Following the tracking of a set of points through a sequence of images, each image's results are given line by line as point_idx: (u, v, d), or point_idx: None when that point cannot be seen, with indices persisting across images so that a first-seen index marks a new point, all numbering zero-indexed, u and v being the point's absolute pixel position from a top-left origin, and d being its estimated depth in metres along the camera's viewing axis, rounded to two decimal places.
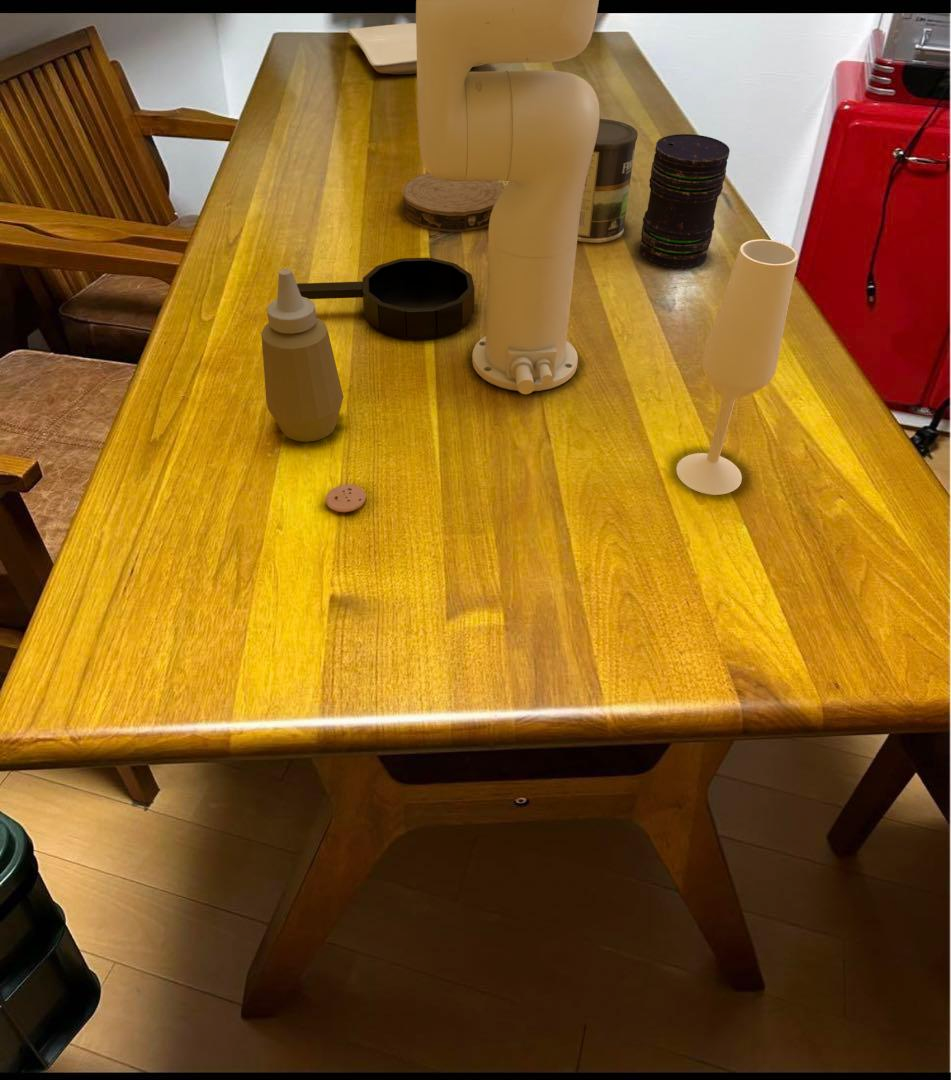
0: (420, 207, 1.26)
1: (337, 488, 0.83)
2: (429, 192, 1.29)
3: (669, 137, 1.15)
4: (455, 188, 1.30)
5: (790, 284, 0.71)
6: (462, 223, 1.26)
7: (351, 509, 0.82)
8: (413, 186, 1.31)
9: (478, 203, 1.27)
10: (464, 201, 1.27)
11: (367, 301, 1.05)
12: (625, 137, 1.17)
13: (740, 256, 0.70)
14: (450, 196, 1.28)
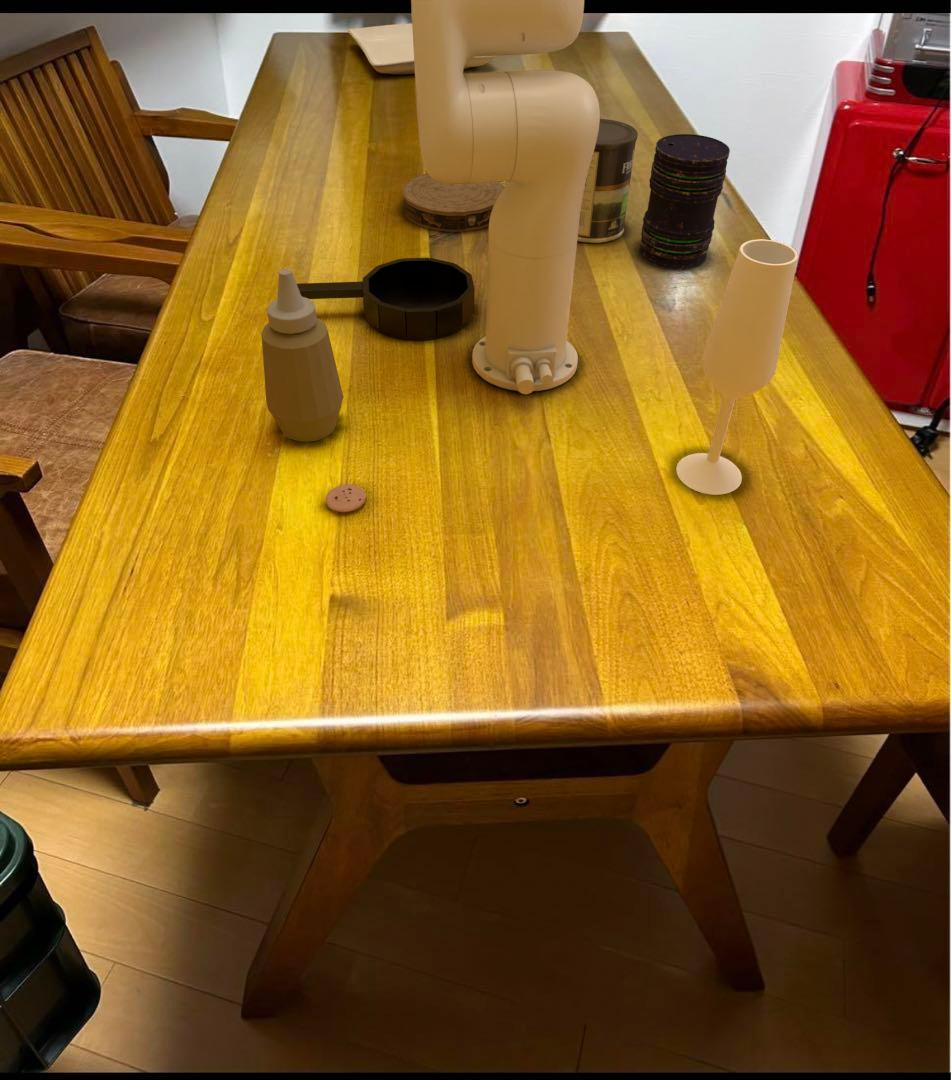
0: (420, 207, 1.26)
1: (337, 488, 0.83)
2: (429, 192, 1.29)
3: (669, 137, 1.15)
4: (455, 188, 1.30)
5: (790, 284, 0.71)
6: (462, 223, 1.26)
7: (351, 509, 0.82)
8: (413, 186, 1.31)
9: (478, 203, 1.27)
10: (464, 201, 1.27)
11: (367, 301, 1.05)
12: (625, 137, 1.17)
13: (740, 256, 0.70)
14: (450, 196, 1.28)
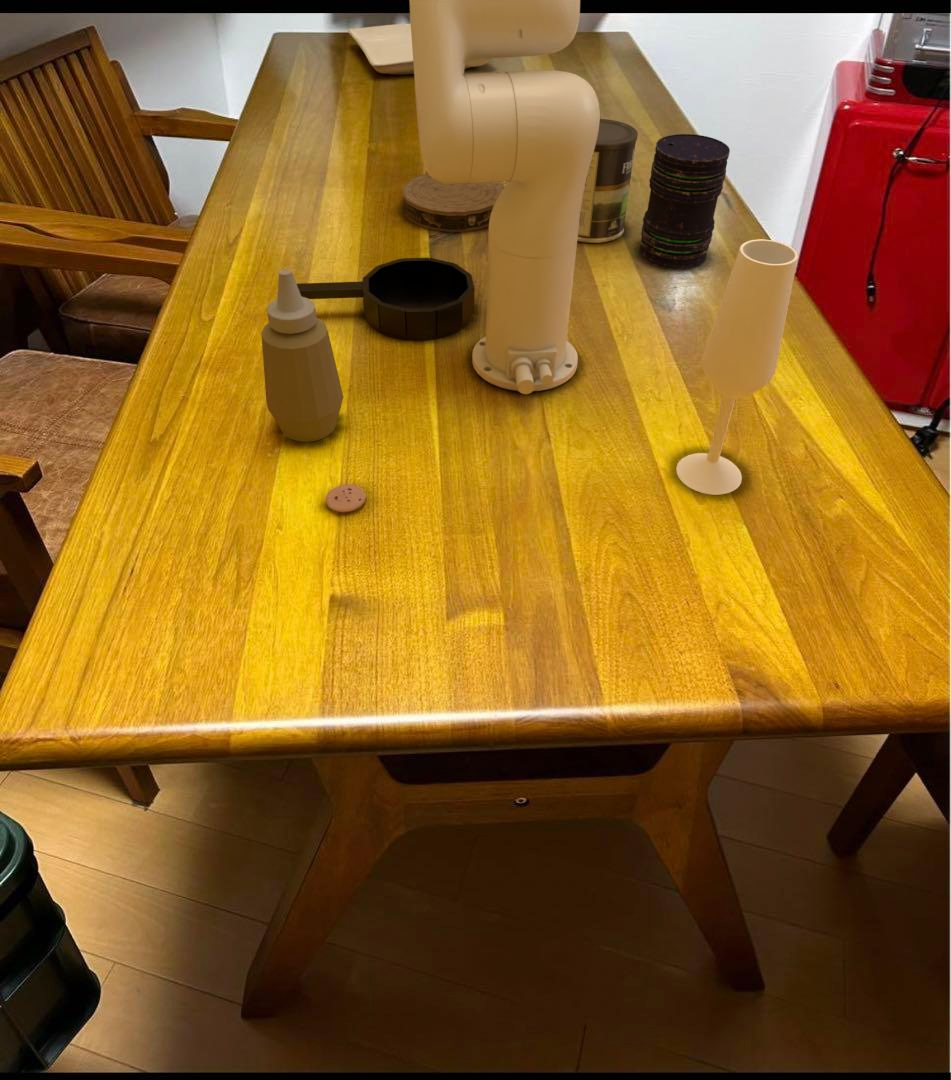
0: (420, 207, 1.26)
1: (337, 488, 0.83)
2: (429, 192, 1.29)
3: (669, 137, 1.15)
4: (455, 188, 1.30)
5: (790, 284, 0.71)
6: (462, 223, 1.26)
7: (351, 509, 0.82)
8: (413, 186, 1.31)
9: (478, 203, 1.27)
10: (464, 201, 1.27)
11: (367, 301, 1.05)
12: (625, 137, 1.17)
13: (740, 256, 0.70)
14: (450, 196, 1.28)
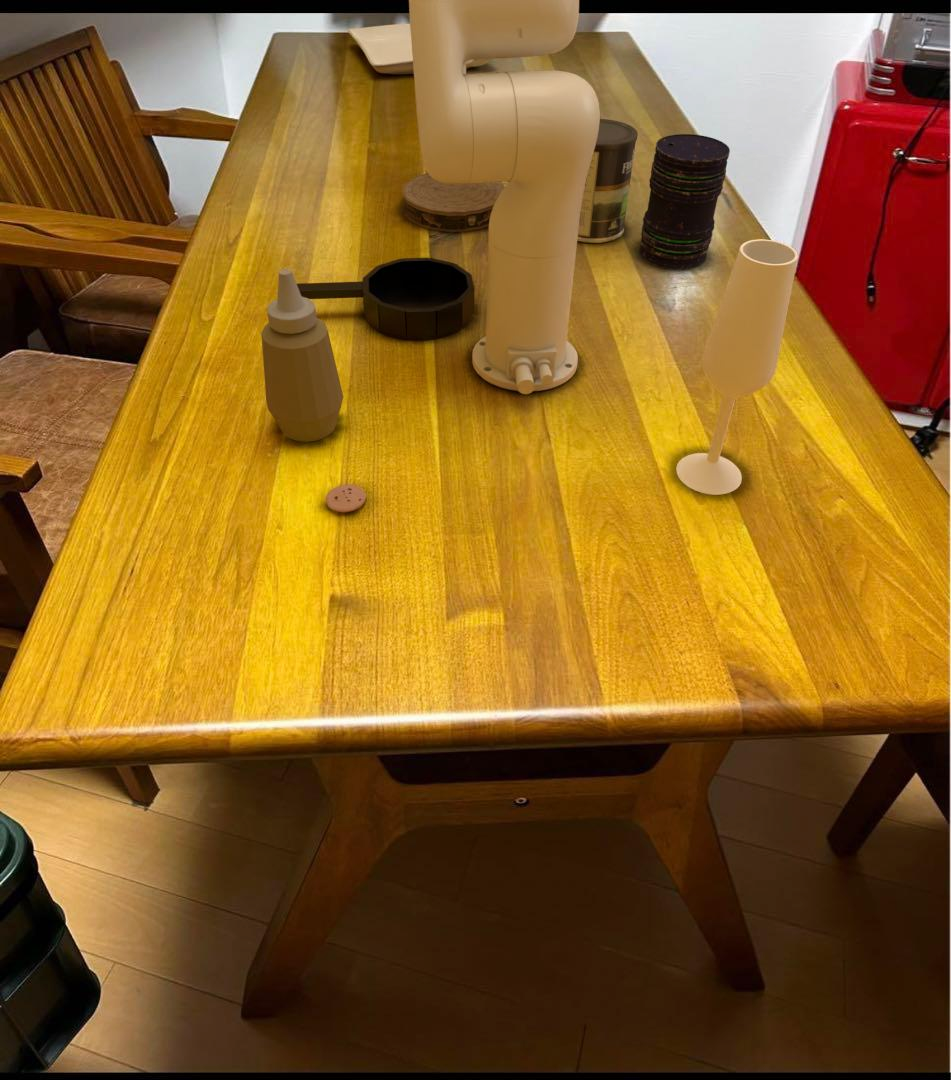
0: (420, 207, 1.26)
1: (337, 488, 0.83)
2: (429, 192, 1.29)
3: (669, 137, 1.15)
4: (455, 188, 1.30)
5: (790, 284, 0.71)
6: (462, 223, 1.26)
7: (351, 509, 0.82)
8: (413, 186, 1.31)
9: (478, 203, 1.27)
10: (464, 201, 1.27)
11: (367, 301, 1.05)
12: (625, 137, 1.17)
13: (740, 256, 0.70)
14: (450, 196, 1.28)
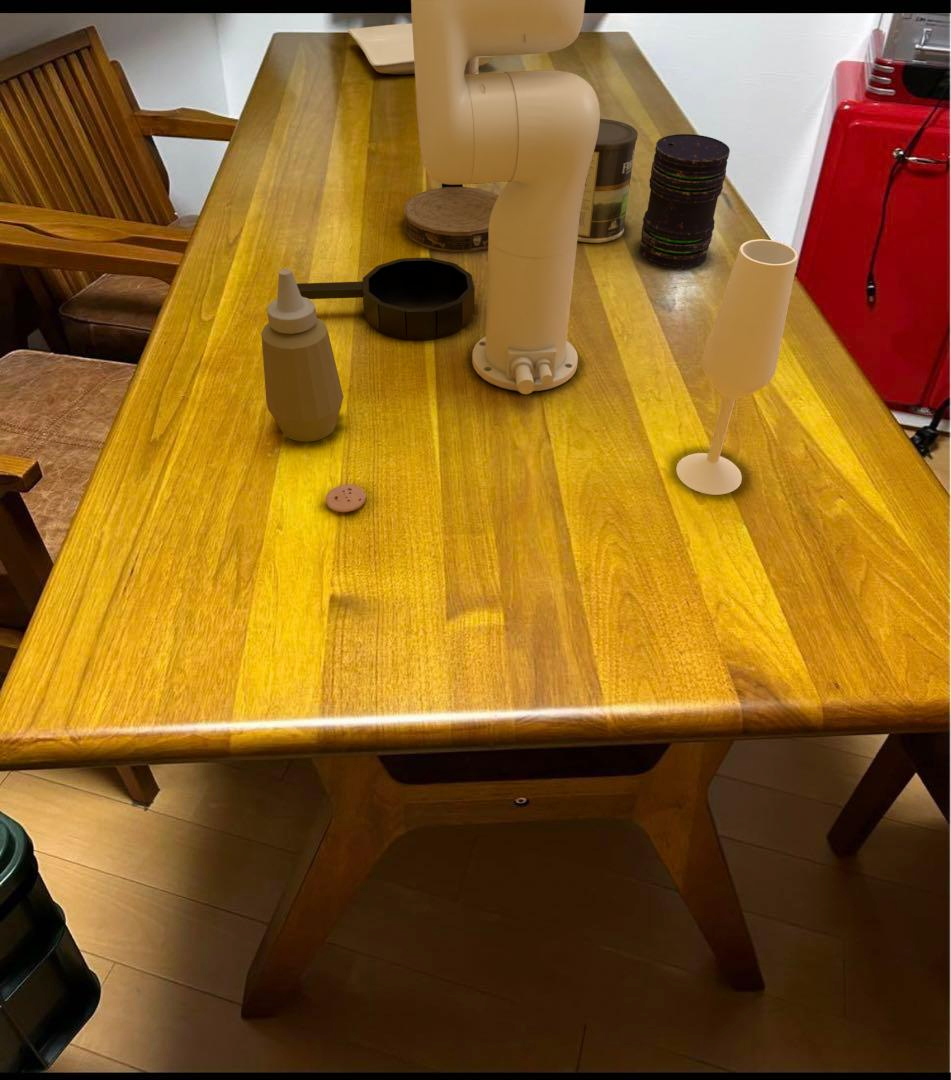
0: (423, 227, 1.21)
1: (337, 488, 0.83)
2: (432, 210, 1.25)
3: (669, 137, 1.15)
4: (459, 206, 1.26)
5: (790, 284, 0.71)
6: (466, 243, 1.21)
7: (351, 509, 0.82)
8: (415, 204, 1.26)
9: (483, 222, 1.22)
10: (468, 220, 1.22)
11: (367, 301, 1.05)
12: (625, 137, 1.17)
13: (740, 256, 0.70)
14: (454, 215, 1.24)
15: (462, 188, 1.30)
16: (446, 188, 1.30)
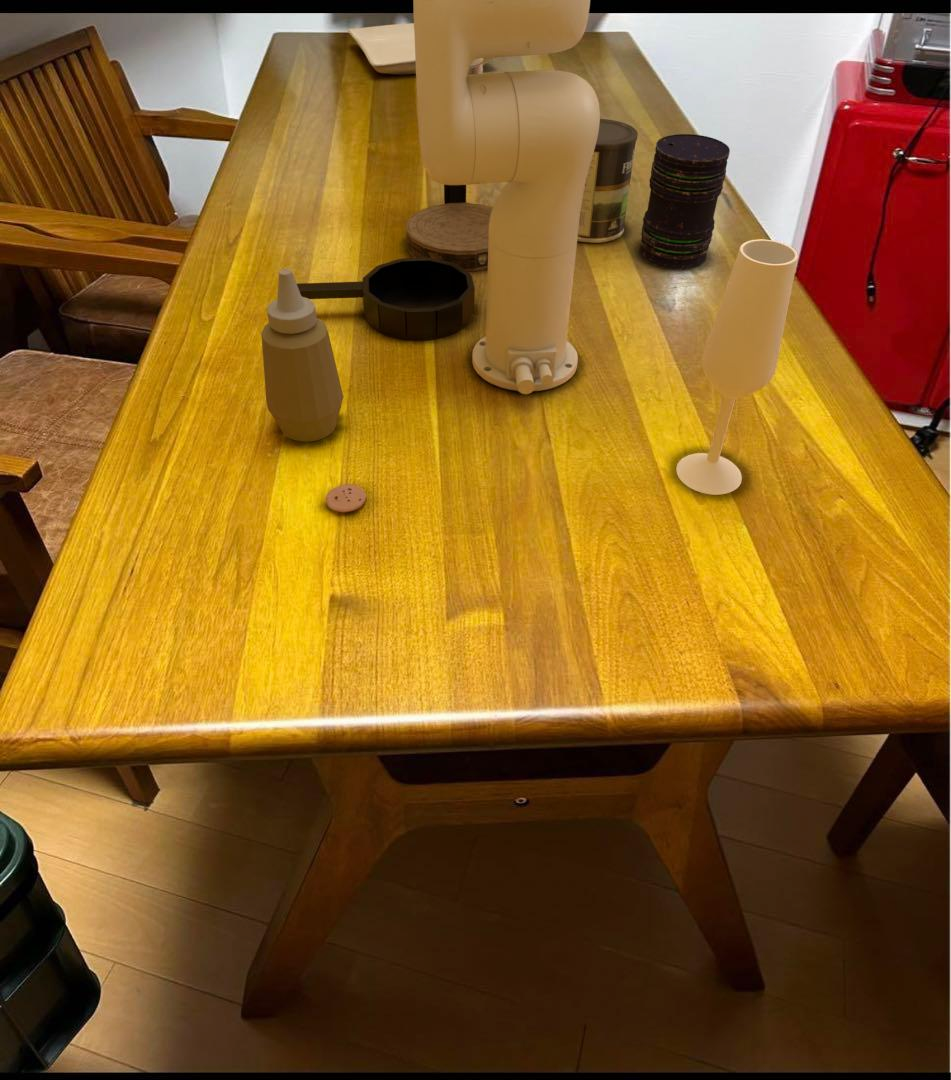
0: (426, 246, 1.17)
1: (337, 488, 0.83)
2: (435, 228, 1.20)
3: (669, 137, 1.15)
4: (463, 223, 1.22)
5: (790, 284, 0.71)
6: (471, 263, 1.17)
7: (351, 509, 0.82)
8: (418, 222, 1.22)
9: None
10: (473, 238, 1.18)
11: (367, 301, 1.05)
12: (625, 137, 1.17)
13: (740, 256, 0.70)
14: (458, 233, 1.19)
15: (465, 204, 1.26)
16: (449, 204, 1.26)
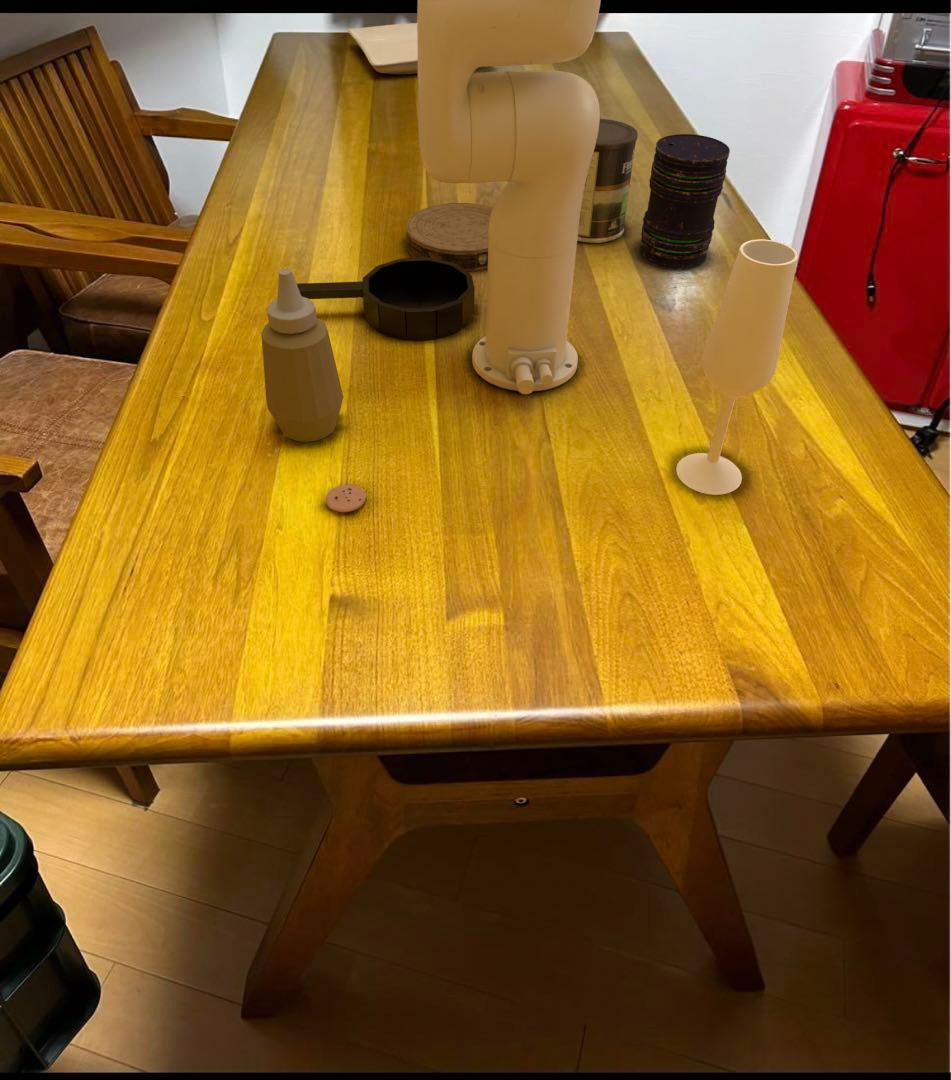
0: (426, 246, 1.17)
1: (337, 488, 0.83)
2: (435, 228, 1.20)
3: (669, 137, 1.15)
4: (463, 223, 1.22)
5: (790, 284, 0.71)
6: (472, 263, 1.17)
7: (351, 509, 0.82)
8: (418, 222, 1.22)
9: None
10: (473, 238, 1.18)
11: (367, 301, 1.05)
12: (625, 137, 1.17)
13: (740, 256, 0.70)
14: (458, 233, 1.19)
15: (465, 204, 1.26)
16: (449, 204, 1.26)
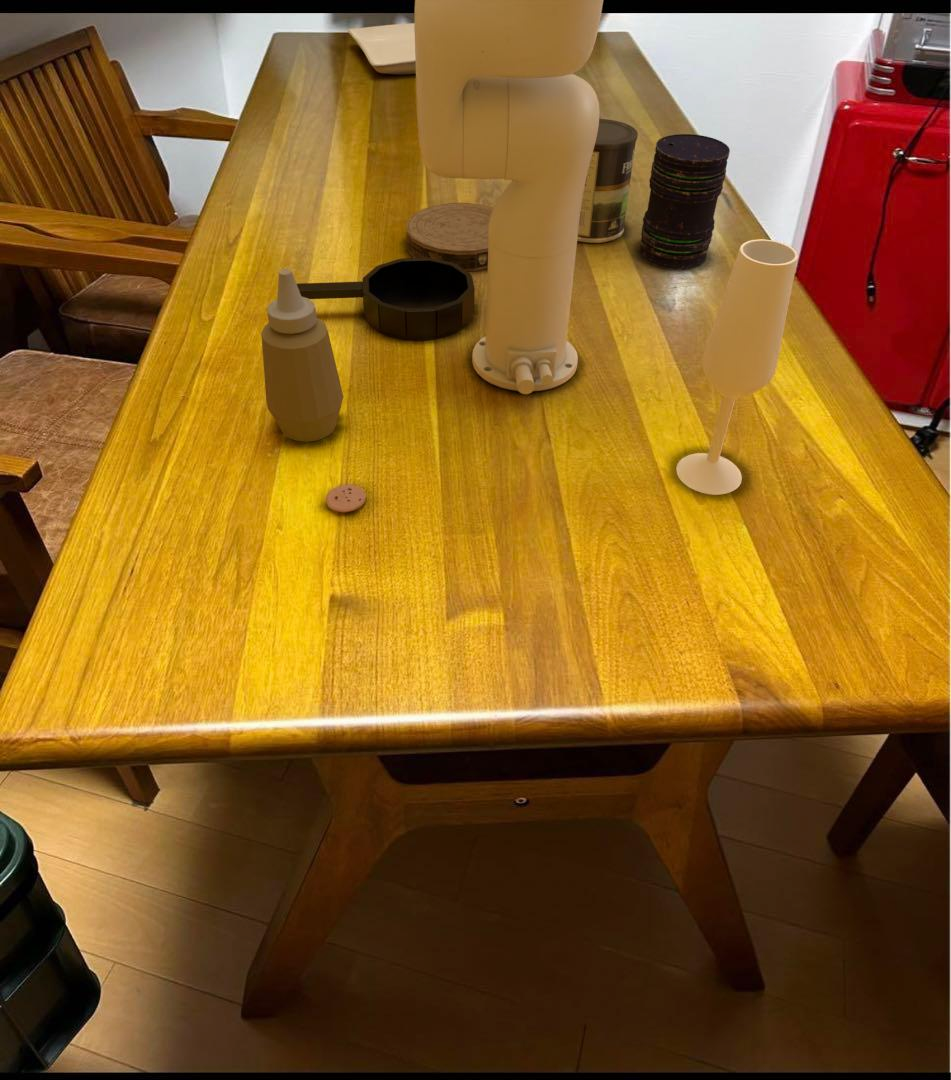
0: (426, 246, 1.17)
1: (337, 488, 0.83)
2: (435, 228, 1.20)
3: (669, 137, 1.15)
4: (463, 223, 1.22)
5: (790, 284, 0.71)
6: (472, 263, 1.17)
7: (351, 509, 0.82)
8: (418, 222, 1.22)
9: None
10: (473, 238, 1.18)
11: (367, 301, 1.05)
12: (625, 137, 1.17)
13: (740, 256, 0.70)
14: (458, 233, 1.19)
15: (465, 204, 1.26)
16: (449, 204, 1.26)
